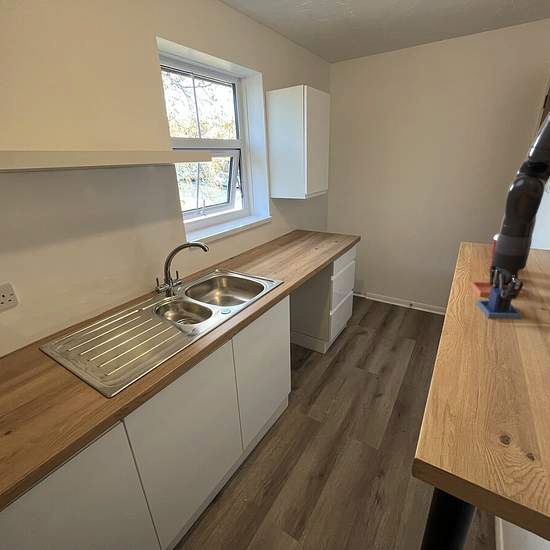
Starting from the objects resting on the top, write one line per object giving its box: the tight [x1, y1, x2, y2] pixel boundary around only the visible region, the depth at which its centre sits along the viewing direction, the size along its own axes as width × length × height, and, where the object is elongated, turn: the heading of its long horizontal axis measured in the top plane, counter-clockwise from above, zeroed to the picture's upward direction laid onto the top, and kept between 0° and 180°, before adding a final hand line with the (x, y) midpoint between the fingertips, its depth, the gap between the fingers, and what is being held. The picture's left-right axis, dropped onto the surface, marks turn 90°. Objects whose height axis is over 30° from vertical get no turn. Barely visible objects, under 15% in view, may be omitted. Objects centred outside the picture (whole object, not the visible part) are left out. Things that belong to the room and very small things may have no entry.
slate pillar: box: [487, 288, 513, 312], centre depth 88 cm, size 4×4×6 cm
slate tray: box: [476, 299, 523, 320], centre depth 89 cm, size 8×8×2 cm
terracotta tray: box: [470, 281, 524, 298], centre depth 101 cm, size 12×8×2 cm
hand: (498, 304), depth 89 cm, fingers closed on slate pillar, 4 cm apart
